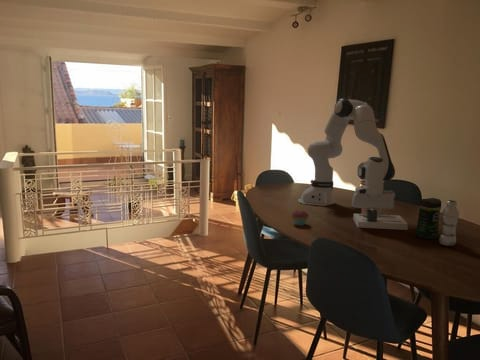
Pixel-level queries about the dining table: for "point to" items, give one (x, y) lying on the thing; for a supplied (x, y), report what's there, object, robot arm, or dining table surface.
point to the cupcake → (300, 217)
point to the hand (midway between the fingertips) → (371, 216)
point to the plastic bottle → (449, 224)
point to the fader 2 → (372, 215)
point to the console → (381, 222)
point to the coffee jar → (428, 218)
